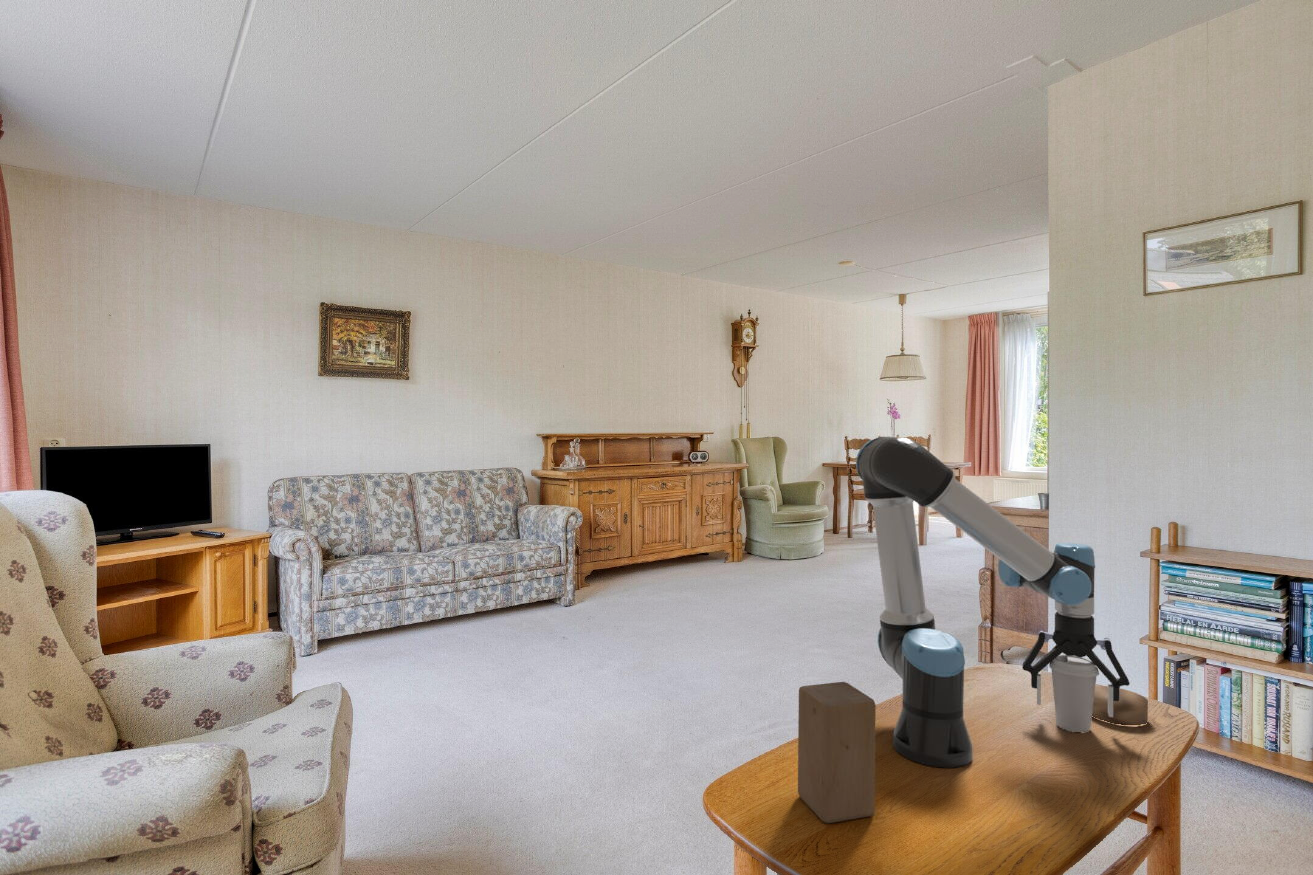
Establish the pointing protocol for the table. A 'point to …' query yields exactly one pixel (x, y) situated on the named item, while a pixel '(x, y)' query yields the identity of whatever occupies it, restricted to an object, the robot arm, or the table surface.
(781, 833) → the table surface
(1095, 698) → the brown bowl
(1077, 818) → the table surface
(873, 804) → the wooden block
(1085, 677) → the coffee cup
